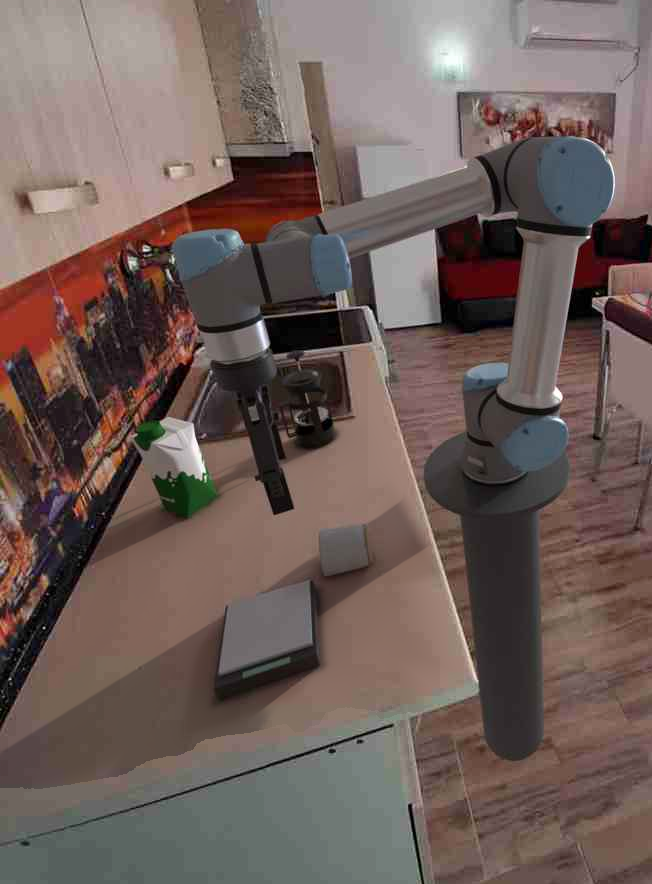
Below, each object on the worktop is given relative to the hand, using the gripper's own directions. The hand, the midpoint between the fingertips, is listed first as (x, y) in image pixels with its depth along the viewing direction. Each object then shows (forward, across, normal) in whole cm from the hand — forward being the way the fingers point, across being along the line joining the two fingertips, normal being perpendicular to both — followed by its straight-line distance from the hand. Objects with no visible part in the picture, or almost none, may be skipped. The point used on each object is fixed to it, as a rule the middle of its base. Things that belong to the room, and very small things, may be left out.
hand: (280, 483), depth 76 cm
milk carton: (+21, -34, -20) cm, 44 cm away
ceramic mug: (+21, -2, +6) cm, 22 cm away
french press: (+21, -46, +6) cm, 51 cm away
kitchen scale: (+21, +9, -6) cm, 23 cm away
